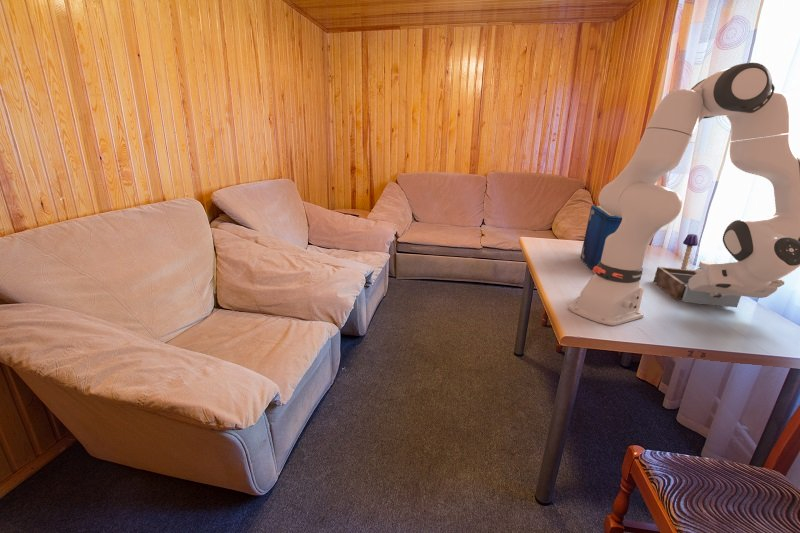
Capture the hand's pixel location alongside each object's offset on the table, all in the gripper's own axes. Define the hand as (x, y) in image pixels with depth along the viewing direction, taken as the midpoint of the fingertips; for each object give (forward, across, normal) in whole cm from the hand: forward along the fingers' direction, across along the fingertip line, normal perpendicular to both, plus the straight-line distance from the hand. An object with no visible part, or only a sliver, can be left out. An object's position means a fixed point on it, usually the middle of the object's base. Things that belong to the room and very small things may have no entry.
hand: (714, 295), depth 115 cm
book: (+28, +26, -20) cm, 43 cm away
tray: (+10, 0, -5) cm, 11 cm away
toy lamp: (+30, -8, -23) cm, 38 cm away
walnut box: (+13, 0, -6) cm, 15 cm away
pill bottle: (+7, 0, -3) cm, 8 cm away
